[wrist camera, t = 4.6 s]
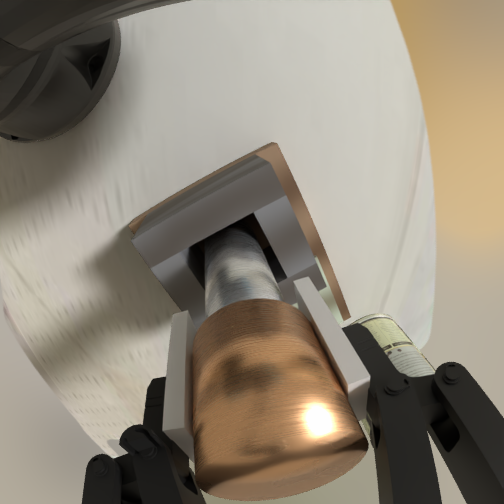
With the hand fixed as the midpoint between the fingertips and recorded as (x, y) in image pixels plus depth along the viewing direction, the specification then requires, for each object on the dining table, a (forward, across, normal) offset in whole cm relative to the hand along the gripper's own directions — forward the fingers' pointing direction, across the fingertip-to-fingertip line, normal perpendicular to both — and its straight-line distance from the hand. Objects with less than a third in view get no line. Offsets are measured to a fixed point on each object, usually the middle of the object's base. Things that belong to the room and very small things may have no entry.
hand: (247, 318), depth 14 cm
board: (+14, +1, -5) cm, 15 cm away
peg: (+10, 0, 0) cm, 10 cm away
